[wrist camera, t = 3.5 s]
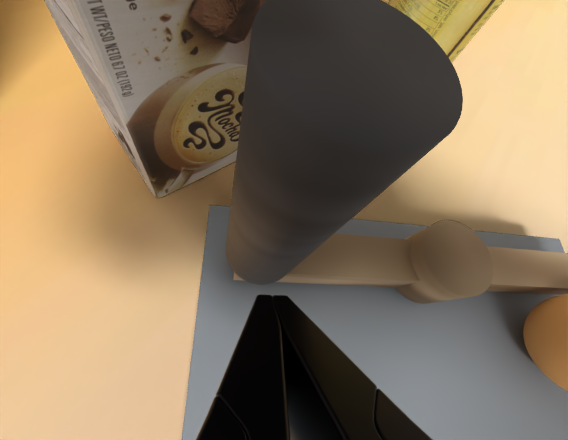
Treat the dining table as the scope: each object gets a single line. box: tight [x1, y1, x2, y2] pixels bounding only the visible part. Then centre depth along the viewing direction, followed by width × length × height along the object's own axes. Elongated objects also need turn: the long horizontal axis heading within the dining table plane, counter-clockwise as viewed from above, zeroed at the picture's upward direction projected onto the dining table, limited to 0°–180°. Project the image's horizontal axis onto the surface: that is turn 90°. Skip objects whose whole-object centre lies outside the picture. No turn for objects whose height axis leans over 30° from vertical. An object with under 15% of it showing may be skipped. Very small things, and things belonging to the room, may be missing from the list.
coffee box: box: [44, 0, 267, 198], centre depth 11 cm, size 9×6×16 cm
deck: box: [182, 205, 568, 440], centre depth 14 cm, size 22×24×2 cm
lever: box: [226, 0, 568, 304], centre depth 10 cm, size 4×21×11 cm, turn 90°
